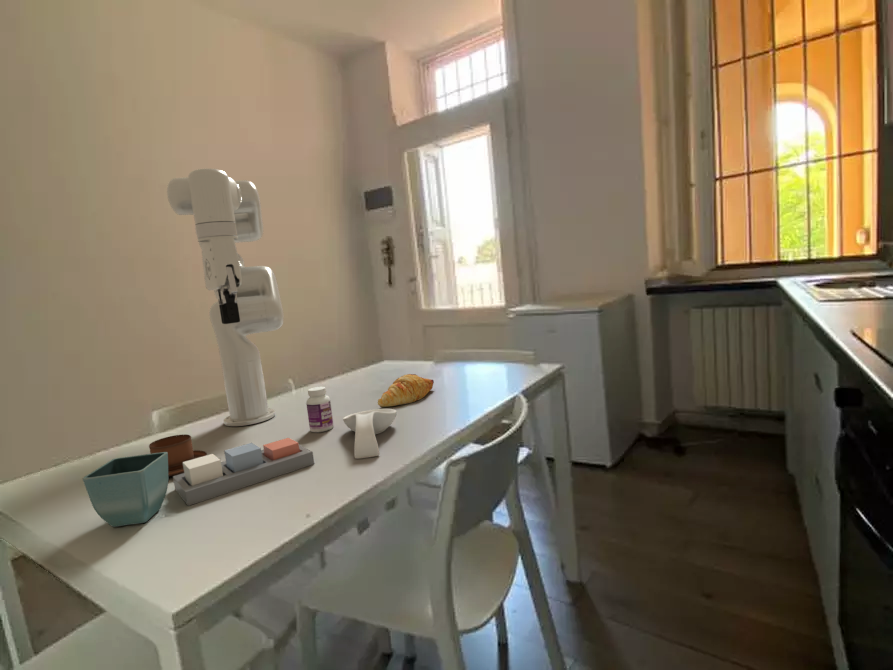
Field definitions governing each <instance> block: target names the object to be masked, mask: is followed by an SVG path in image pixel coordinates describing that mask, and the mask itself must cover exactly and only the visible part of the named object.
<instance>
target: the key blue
mask: <svg viewBox="0 0 893 670" xmlns="http://www.w3.org/2000/svg"><path fill="white" fill-rule="evenodd" d="M261 450H262V448H261V447H260V446H258V445H257V444H255V443H253V442H249V443H246V444H242V445H240V446H239V445H238V446H235V447H231V448H229V449H225V450H224V451H223V452H224V458H225V461H226V465H227V467H228V468H230V469H231V470H232V471H233V472H238V471H241V470H244V469H247V468H251V467H254V466H257V465H260V464H263V459H262V453H261Z"/></svg>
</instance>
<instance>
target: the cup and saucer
mask: <svg viewBox="0 0 893 670" xmlns="http://www.w3.org/2000/svg"><path fill="white" fill-rule="evenodd" d="M148 447H149V452H150V453H149V454H153V453H161V452H168V478H169V477H173V476H176V475H179V474H183V473H184V468H183V462H185V461H189V460H192V459H196V458H199V457H203V456H206V455H208V453H207V451H204V450H199V449H197V450H196V449H195V450H194V447H193V441H192V436H191V435H190V434H175V435H169V436H165V437H162V438H159V439H156V440H155V441H152V442H150V444H149V445H148Z"/></svg>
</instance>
